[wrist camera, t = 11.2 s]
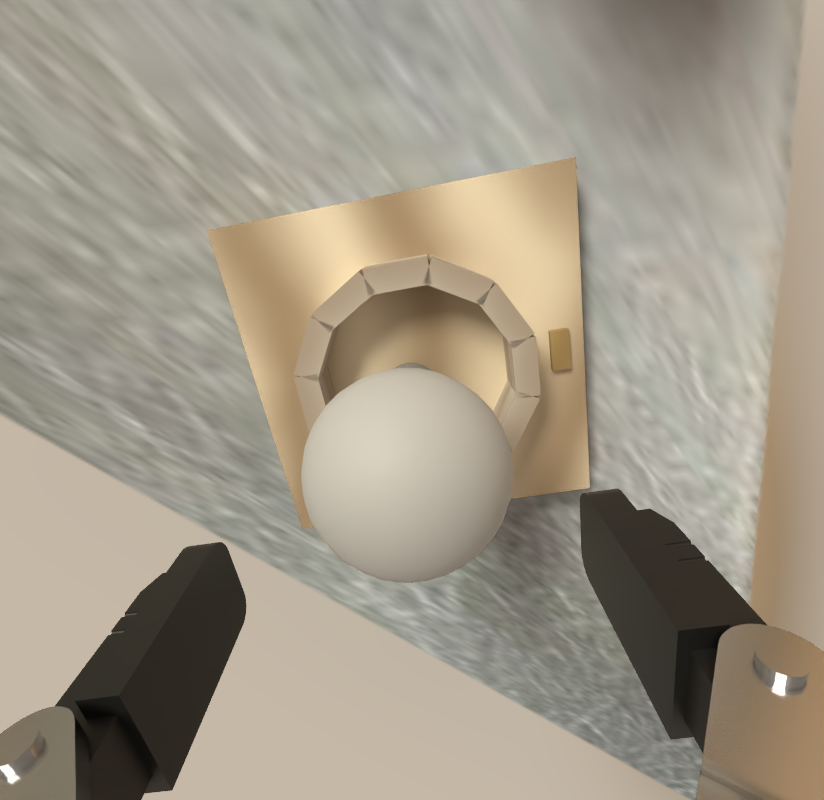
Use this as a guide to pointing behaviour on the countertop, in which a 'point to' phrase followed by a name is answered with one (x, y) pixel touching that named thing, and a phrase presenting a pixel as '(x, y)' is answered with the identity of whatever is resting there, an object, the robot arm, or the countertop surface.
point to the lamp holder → (424, 310)
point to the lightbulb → (407, 474)
